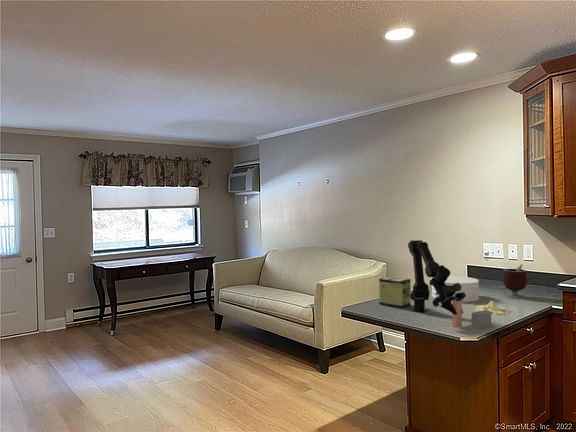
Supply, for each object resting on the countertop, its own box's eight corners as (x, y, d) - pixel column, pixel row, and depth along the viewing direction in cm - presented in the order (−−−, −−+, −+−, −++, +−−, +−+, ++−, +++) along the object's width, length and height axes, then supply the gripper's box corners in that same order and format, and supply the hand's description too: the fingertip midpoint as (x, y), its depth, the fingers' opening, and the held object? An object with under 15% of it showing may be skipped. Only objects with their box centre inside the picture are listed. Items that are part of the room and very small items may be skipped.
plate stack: (449, 291, 299) (449, 274, 299) (488, 298, 276) (488, 280, 275) (422, 296, 284) (422, 278, 283) (460, 304, 260) (460, 285, 260)
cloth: (479, 306, 256) (479, 295, 256) (514, 310, 244) (514, 299, 244) (465, 313, 240) (465, 302, 240) (502, 318, 227) (502, 307, 227)
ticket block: (457, 328, 208) (457, 313, 208) (480, 323, 217) (480, 309, 217) (468, 331, 203) (468, 316, 203) (491, 326, 212) (491, 311, 212)
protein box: (402, 308, 251) (402, 281, 250) (378, 304, 261) (378, 278, 261) (411, 305, 258) (411, 278, 258) (387, 301, 269) (387, 276, 268)
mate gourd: (519, 300, 269) (519, 267, 268) (498, 296, 280) (498, 265, 280) (533, 297, 277) (533, 265, 277) (511, 293, 289) (511, 263, 288)
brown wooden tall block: (452, 326, 212) (452, 301, 211) (457, 325, 214) (457, 300, 213) (456, 327, 210) (456, 302, 209) (461, 326, 212) (461, 301, 211)
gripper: (437, 279, 210) (456, 306, 201) (462, 275, 219) (482, 301, 210) (424, 293, 217) (442, 320, 208) (449, 289, 226) (468, 314, 217)
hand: (459, 313), depth 210 cm, fingers closed on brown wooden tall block, 4 cm apart
